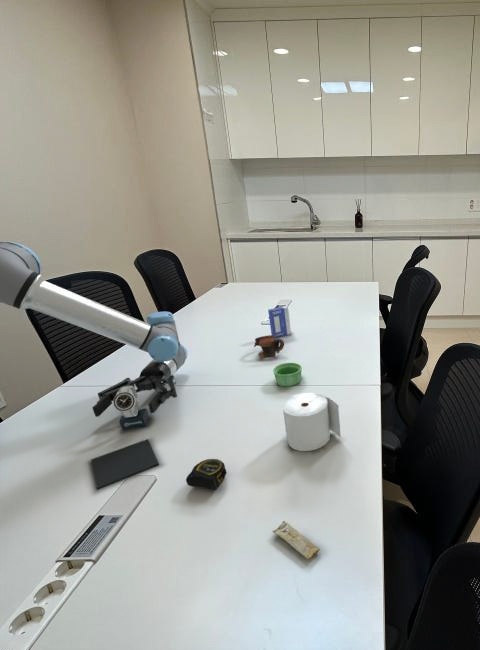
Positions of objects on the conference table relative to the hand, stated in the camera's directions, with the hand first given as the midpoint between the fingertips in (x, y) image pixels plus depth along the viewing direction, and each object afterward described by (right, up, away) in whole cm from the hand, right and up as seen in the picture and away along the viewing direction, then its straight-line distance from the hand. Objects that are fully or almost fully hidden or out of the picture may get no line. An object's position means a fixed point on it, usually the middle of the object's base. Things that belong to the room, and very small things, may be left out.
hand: (123, 410), depth 98 cm
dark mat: (+6, -11, -9) cm, 15 cm away
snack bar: (+50, -19, -30) cm, 61 cm away
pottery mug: (+25, +14, +46) cm, 55 cm away
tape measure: (+29, -13, -16) cm, 35 cm away
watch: (0, -5, +6) cm, 7 cm away
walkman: (+25, +22, +64) cm, 72 cm away
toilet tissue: (+48, -7, -2) cm, 49 cm away
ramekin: (+37, +5, +26) cm, 45 cm away
